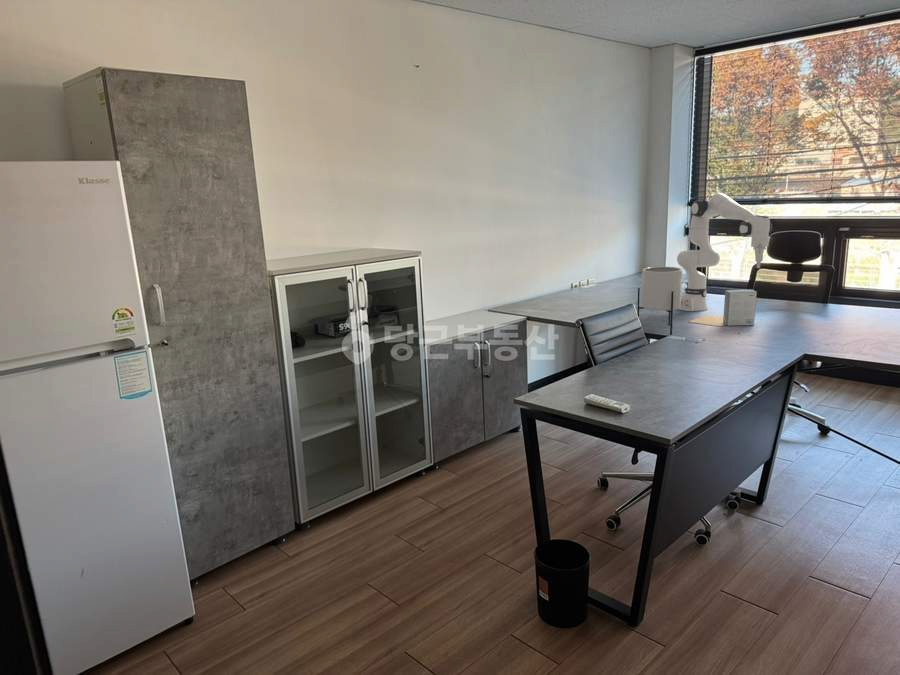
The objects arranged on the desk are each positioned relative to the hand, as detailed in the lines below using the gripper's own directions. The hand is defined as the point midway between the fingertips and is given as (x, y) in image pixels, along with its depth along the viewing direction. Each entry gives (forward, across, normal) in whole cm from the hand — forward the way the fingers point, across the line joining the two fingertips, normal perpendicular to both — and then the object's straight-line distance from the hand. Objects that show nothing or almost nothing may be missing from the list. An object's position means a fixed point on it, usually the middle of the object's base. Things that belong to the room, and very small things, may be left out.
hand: (758, 268), depth 348 cm
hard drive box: (+33, +1, +9) cm, 35 cm away
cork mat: (+33, +7, +22) cm, 41 cm away
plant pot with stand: (+34, -21, +51) cm, 65 cm away
